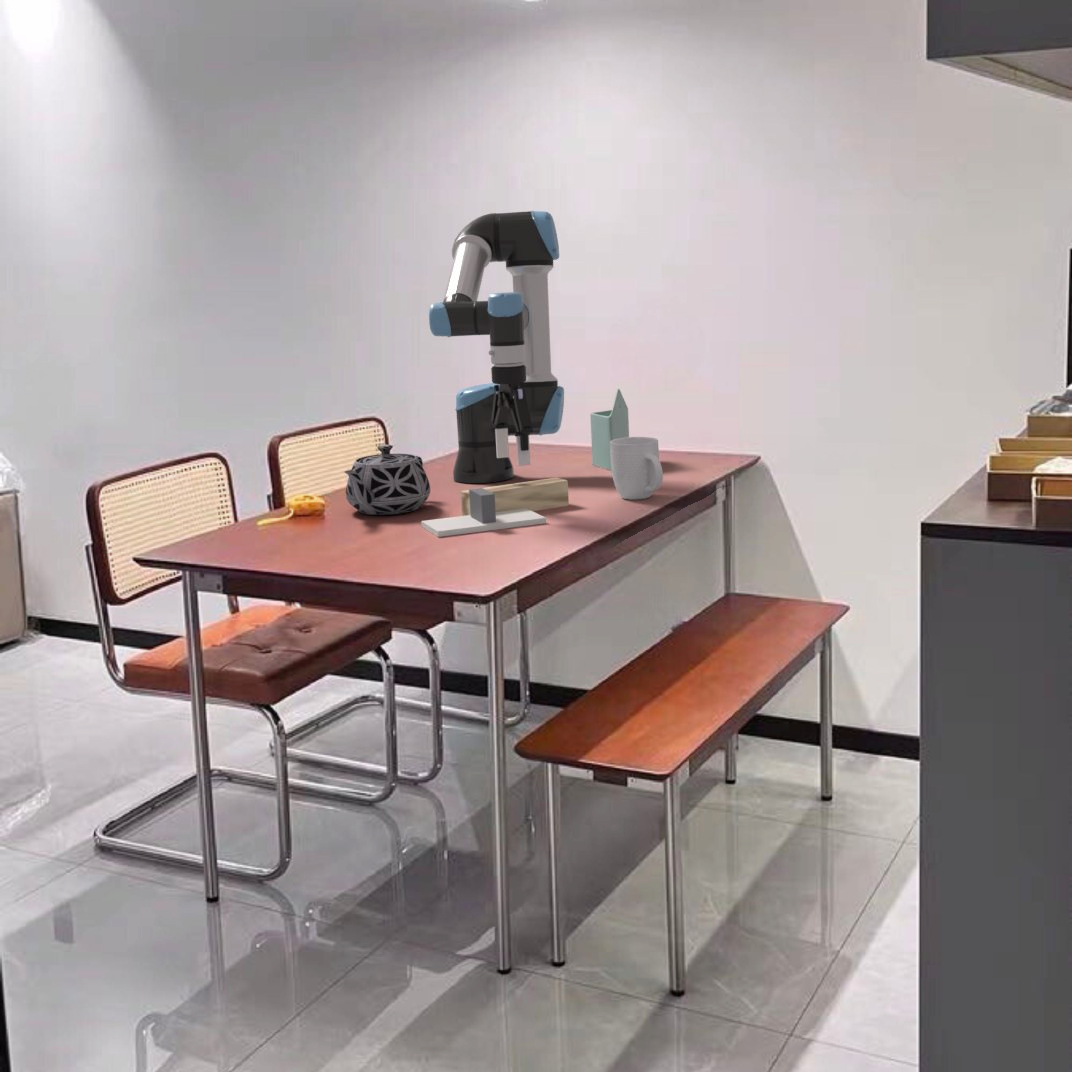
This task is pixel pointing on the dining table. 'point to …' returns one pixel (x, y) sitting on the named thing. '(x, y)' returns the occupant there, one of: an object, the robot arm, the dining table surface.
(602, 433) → the planter
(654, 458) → the mug
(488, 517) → the fulcrum
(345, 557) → the dining table surface
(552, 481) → the wooden beam
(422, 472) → the teapot
